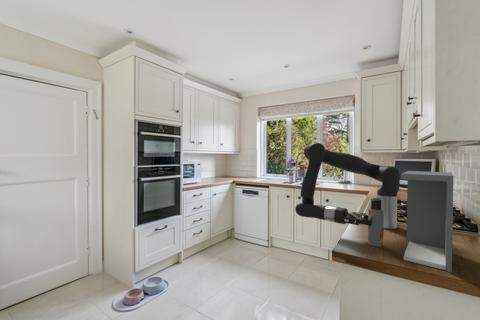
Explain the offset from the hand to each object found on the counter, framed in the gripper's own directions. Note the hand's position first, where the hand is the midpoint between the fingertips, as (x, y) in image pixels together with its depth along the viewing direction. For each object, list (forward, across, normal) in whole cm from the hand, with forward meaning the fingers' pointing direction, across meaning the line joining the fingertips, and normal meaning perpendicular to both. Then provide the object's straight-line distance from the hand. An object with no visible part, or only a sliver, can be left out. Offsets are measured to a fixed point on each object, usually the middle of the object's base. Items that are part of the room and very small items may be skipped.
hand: (374, 221), depth 99 cm
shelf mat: (+18, 0, +10) cm, 20 cm away
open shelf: (+18, 0, +10) cm, 20 cm away
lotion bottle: (+1, 0, +10) cm, 10 cm away
